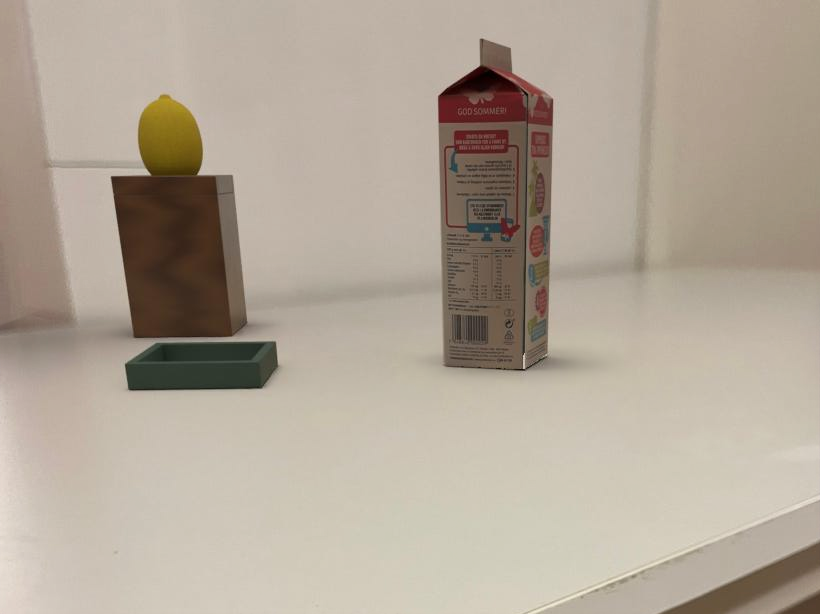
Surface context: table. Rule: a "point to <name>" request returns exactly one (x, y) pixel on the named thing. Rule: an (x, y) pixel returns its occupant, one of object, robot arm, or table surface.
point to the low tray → (202, 365)
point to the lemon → (169, 139)
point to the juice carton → (495, 215)
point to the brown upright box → (180, 254)
